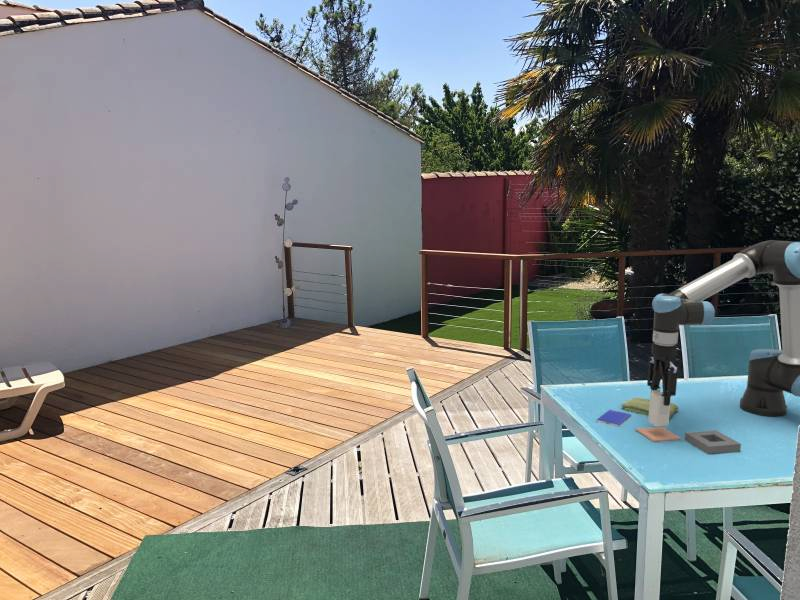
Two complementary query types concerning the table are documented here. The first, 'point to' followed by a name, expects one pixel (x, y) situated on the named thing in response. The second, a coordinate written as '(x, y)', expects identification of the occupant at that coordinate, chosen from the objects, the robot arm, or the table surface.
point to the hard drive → (614, 418)
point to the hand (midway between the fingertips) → (659, 411)
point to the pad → (658, 434)
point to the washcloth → (644, 406)
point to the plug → (657, 410)
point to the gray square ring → (712, 442)
